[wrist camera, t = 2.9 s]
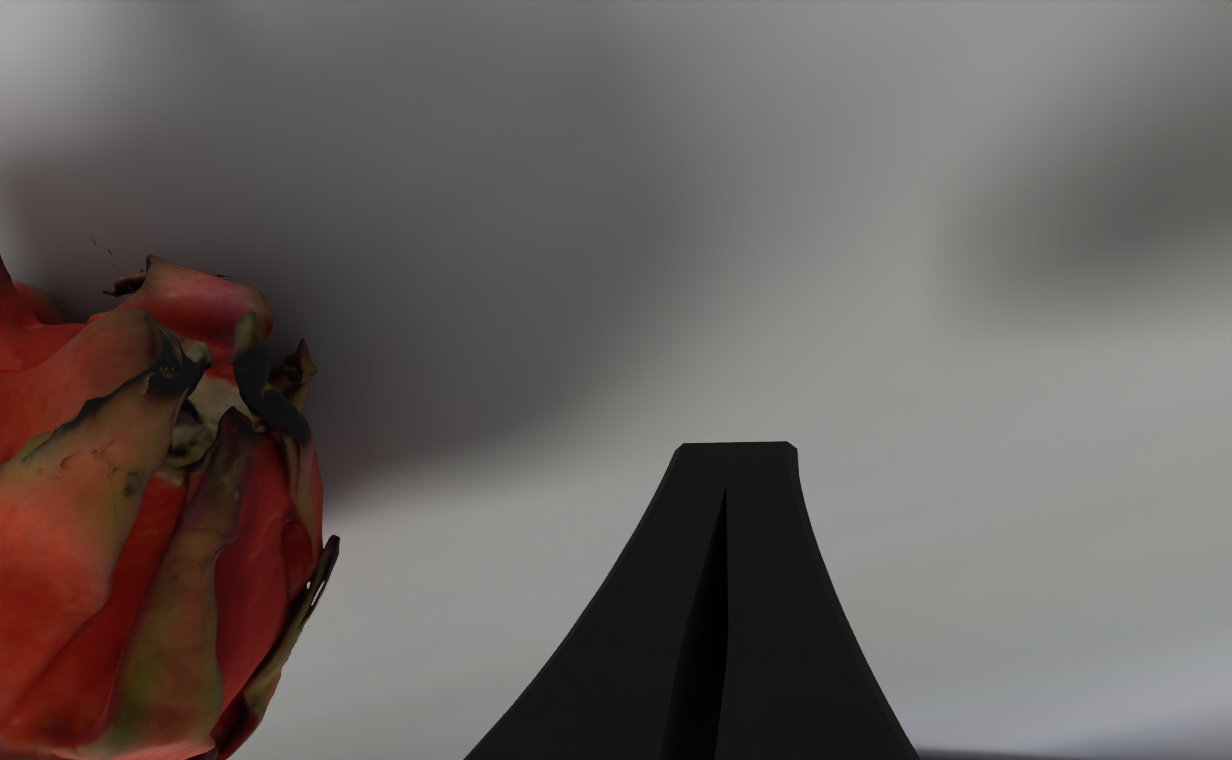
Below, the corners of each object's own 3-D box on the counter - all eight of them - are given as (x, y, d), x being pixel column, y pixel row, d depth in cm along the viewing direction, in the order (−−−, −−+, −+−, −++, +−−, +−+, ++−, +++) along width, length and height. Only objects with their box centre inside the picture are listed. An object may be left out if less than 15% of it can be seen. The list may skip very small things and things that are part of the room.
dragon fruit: (-22, 443, 20) (384, 121, 16) (126, 823, 19) (611, 580, 15) (-680, 504, 12) (-218, -99, 8) (-506, 1166, 11) (154, 852, 7)
